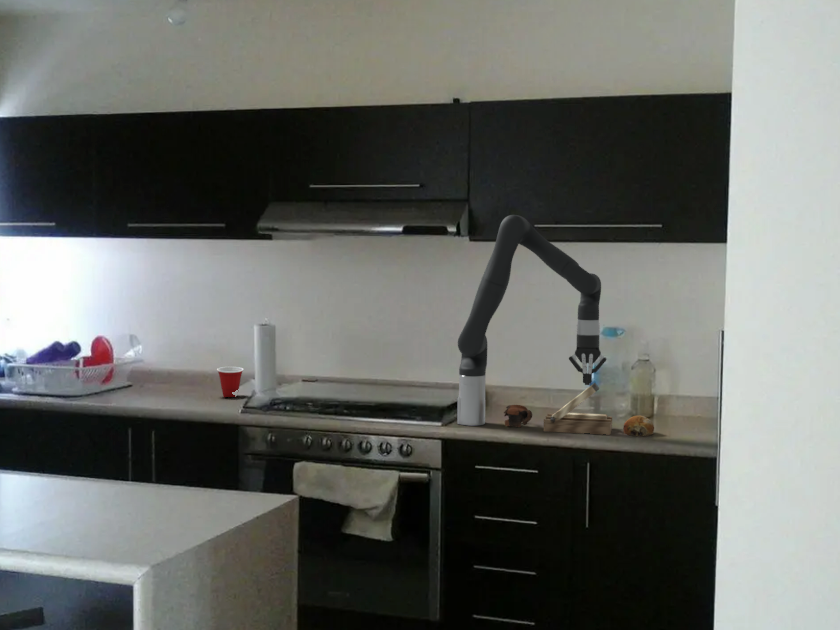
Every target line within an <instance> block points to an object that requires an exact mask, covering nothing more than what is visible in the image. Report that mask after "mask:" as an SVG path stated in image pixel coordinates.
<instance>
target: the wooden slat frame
mask: <svg viewBox="0 0 840 630" xmlns="http://www.w3.org/2000/svg"><path fill="white" fill-rule="evenodd" d="M553 414H554V413H547V415H546V416H545V418H544V419H543V432H549V433H550V432H551V433H565V434H566V433H567V434H568V433H569V434H584V433H590V435H603V434H606V436H607V435H608V436H611V433H612V430H613V416H608V414H605V413H604V414H603V413H584V412H583V413H581V412H580V413H579V412H569V413H568V414H566V415H565V416H564V417H562V418H561V419H560V420H555V418H551V416H552V415H553ZM550 418H551V419H550Z"/></svg>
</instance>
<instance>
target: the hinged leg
mask: <svg viewBox="0 0 840 630" xmlns="http://www.w3.org/2000/svg"><path fill="white" fill-rule="evenodd" d="M599 390H600V387H599V386H598V384H597V383H596V382H594V383H592V384H591V385H590V386H588V387H587V388H585V389H584V390H583V391H581V393H579V394H578V395H577V396H575V397H574V398H573V399H571V400H570V401H568V403H566V404H565V405H564V406H563V407H561V408H560V409H558V410H557V411H556V412H554V413H552V414H553V415H552V416H551V418H555V420H560V419H561V418H562V417H564V416H565V415H566V414H568V413H571V411H572V410H575V409H576V408H577V407H578V406H579V405H580V404H582V403H584V401H586V400H587V399H589V397H591V396H592V395H594V394H596V392H598V391H599ZM551 418H550V419H551Z"/></svg>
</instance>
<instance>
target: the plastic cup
mask: <svg viewBox="0 0 840 630" xmlns="http://www.w3.org/2000/svg"><path fill="white" fill-rule="evenodd" d="M216 371H217V372H218V377H219V381H220V386H221V392H222V396H223V397H222V398H225V397H235V395H233V394H232V392H235V391H236V390H238V389H240V383H241V377H242V374H243V371H244V368H243V367H239V366H221V367H218V368H216ZM238 391H239V390H238ZM235 398H236V397H235Z"/></svg>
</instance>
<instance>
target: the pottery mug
mask: <svg viewBox="0 0 840 630" xmlns="http://www.w3.org/2000/svg"><path fill="white" fill-rule="evenodd" d="M505 408H506V409H505V410H504V411H503V414H504V415H503V416H504V417H508V419H506V420H504V427H505V426H507V427H514V428H519V427H520V428H521V427H522V424H523V425H524V426H526V425H527V424H528V423H530V421H531V420H532V418H533V412H532V411H531V410H529V409H528V408H527V407H526V406H524V405H520V404H509V405H507V406H506V407H505Z"/></svg>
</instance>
